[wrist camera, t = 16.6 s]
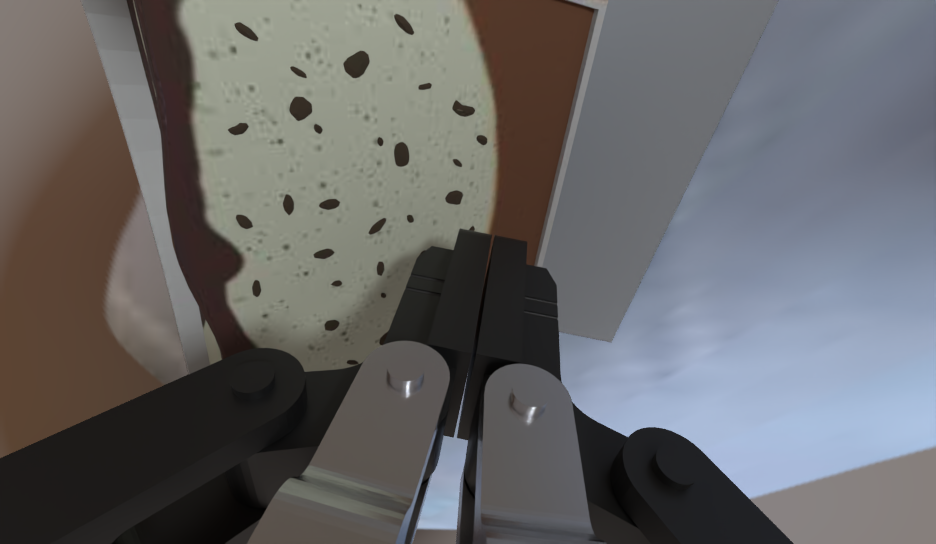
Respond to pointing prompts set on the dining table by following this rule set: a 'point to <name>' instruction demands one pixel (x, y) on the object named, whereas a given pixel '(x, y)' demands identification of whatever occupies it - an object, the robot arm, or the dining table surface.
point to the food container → (336, 151)
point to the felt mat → (641, 144)
